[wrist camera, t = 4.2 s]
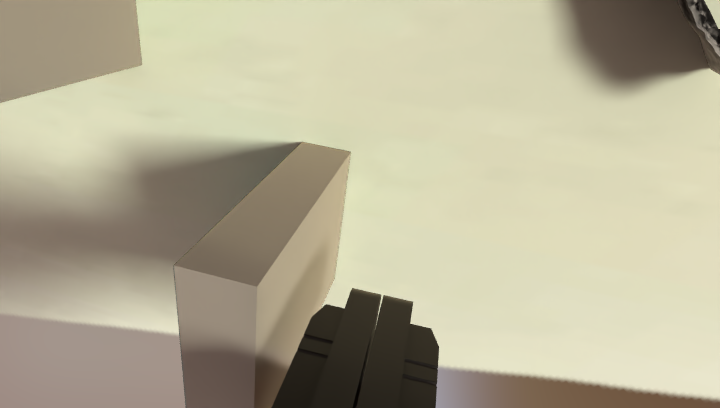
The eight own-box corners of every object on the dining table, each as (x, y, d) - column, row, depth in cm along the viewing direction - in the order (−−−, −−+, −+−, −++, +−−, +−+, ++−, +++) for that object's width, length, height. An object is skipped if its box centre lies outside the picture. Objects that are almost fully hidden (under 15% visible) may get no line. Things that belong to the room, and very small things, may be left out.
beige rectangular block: (297, 140, 14) (166, 263, 8) (351, 151, 14) (257, 286, 8) (289, 267, 16) (182, 436, 10) (334, 278, 16) (253, 458, 10)
